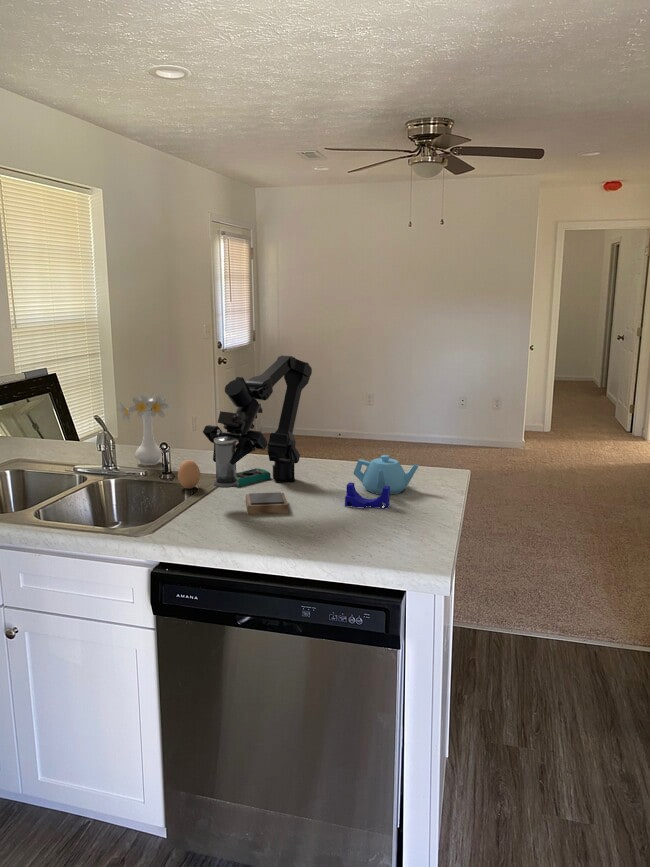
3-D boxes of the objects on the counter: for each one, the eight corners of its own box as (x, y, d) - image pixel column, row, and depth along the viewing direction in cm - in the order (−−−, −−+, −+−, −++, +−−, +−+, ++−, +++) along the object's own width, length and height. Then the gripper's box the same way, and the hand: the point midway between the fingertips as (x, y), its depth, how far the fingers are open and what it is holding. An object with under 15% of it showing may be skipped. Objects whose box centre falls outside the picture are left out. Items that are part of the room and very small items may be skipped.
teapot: (388, 479, 219) (389, 447, 216) (419, 491, 206) (420, 457, 204) (350, 486, 210) (351, 453, 208) (380, 499, 198) (381, 463, 196)
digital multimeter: (272, 479, 218) (272, 470, 218) (236, 488, 208) (236, 479, 207) (257, 475, 223) (257, 466, 223) (222, 483, 213) (221, 475, 212)
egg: (176, 486, 208) (175, 458, 206) (198, 484, 210) (197, 456, 209) (180, 492, 202) (179, 463, 200) (202, 490, 204) (201, 461, 202)
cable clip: (344, 506, 191) (345, 486, 190) (348, 502, 195) (349, 482, 194) (386, 511, 188) (386, 490, 186) (389, 506, 192) (389, 486, 191)
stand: (283, 501, 195) (283, 491, 194) (287, 513, 184) (287, 502, 183) (245, 502, 193) (245, 492, 192) (247, 514, 182) (247, 504, 182)
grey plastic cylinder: (237, 480, 191) (236, 435, 188) (239, 487, 184) (238, 441, 182) (213, 481, 190) (212, 436, 187) (214, 488, 183) (213, 442, 180)
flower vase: (114, 466, 230) (111, 394, 225) (156, 456, 245) (153, 388, 239) (140, 472, 223) (136, 398, 217) (181, 461, 237) (179, 392, 232)
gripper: (205, 397, 190) (182, 442, 182) (261, 402, 181) (239, 450, 174) (222, 419, 198) (200, 464, 191) (276, 426, 190) (255, 472, 183)
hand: (223, 462), depth 184 cm, fingers closed on grey plastic cylinder, 6 cm apart
